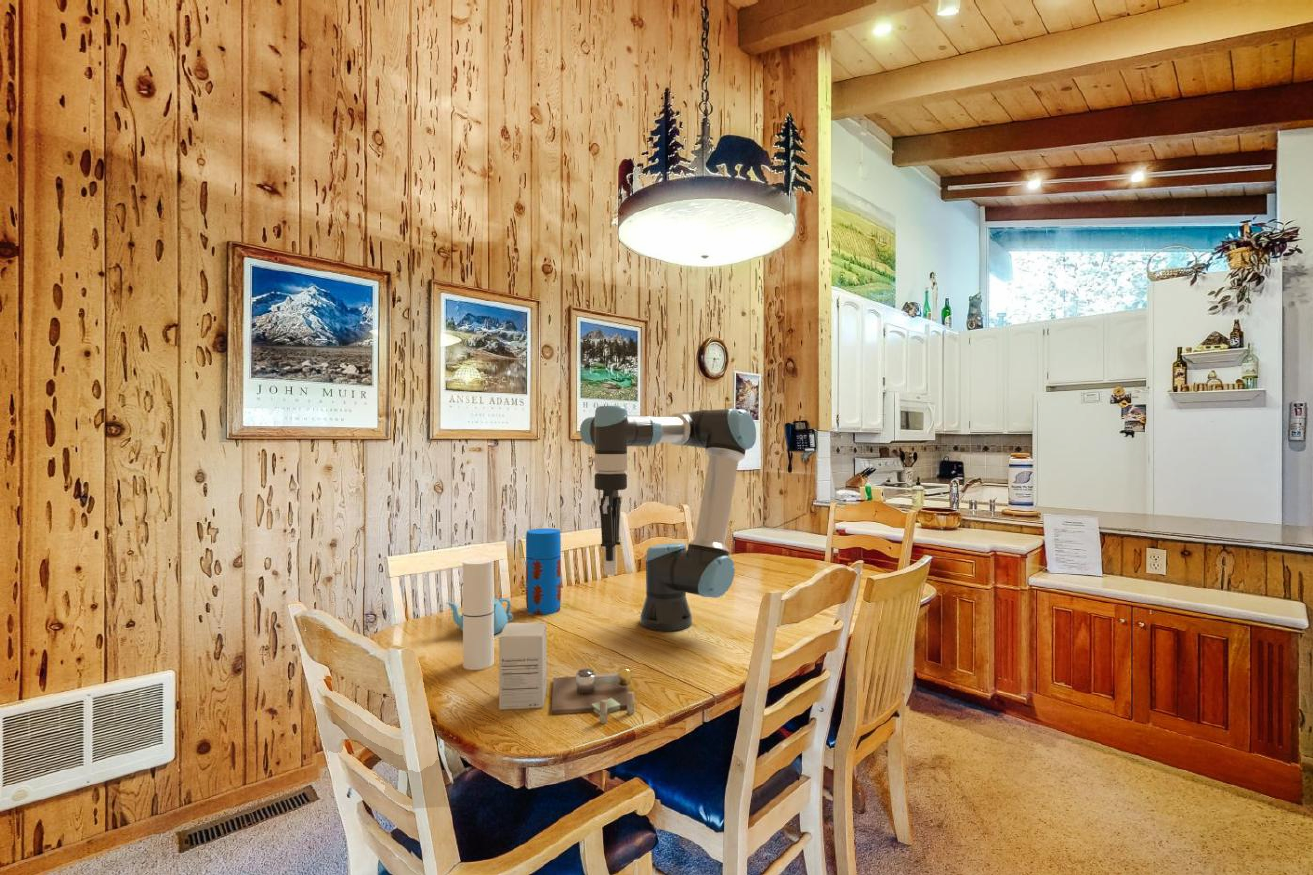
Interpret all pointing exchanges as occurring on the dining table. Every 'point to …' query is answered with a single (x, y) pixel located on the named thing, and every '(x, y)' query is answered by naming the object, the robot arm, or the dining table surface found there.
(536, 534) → the thermos
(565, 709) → the dial board
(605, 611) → the dining table surface
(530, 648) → the supplement box
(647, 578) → the robot arm
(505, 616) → the teapot
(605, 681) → the crank handle
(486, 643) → the cylindrical container
